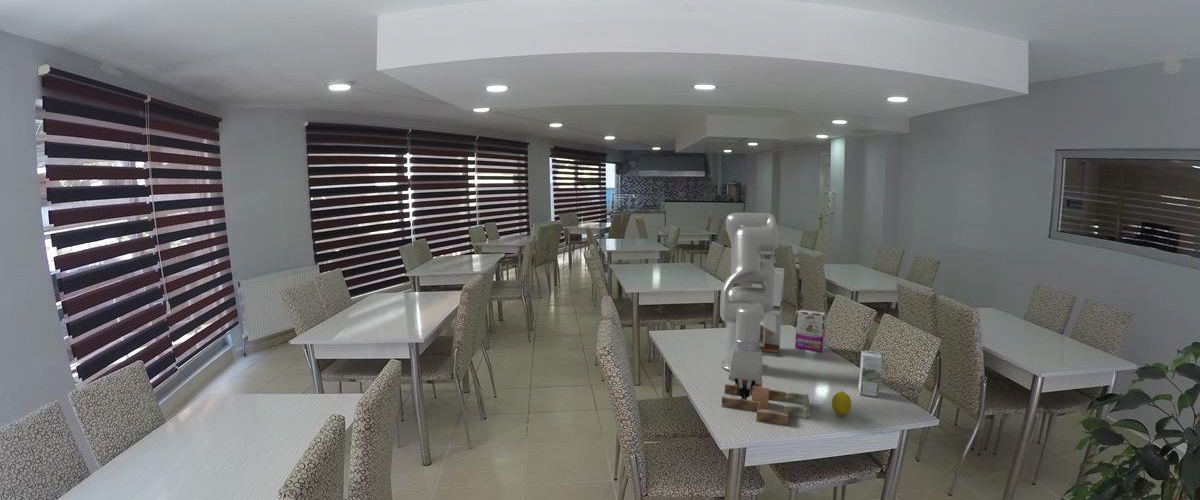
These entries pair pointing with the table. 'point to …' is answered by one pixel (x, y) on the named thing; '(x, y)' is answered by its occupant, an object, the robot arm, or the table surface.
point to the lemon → (841, 403)
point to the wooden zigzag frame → (773, 395)
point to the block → (761, 395)
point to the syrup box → (869, 373)
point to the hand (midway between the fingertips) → (744, 398)
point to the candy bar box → (810, 330)
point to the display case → (772, 318)
